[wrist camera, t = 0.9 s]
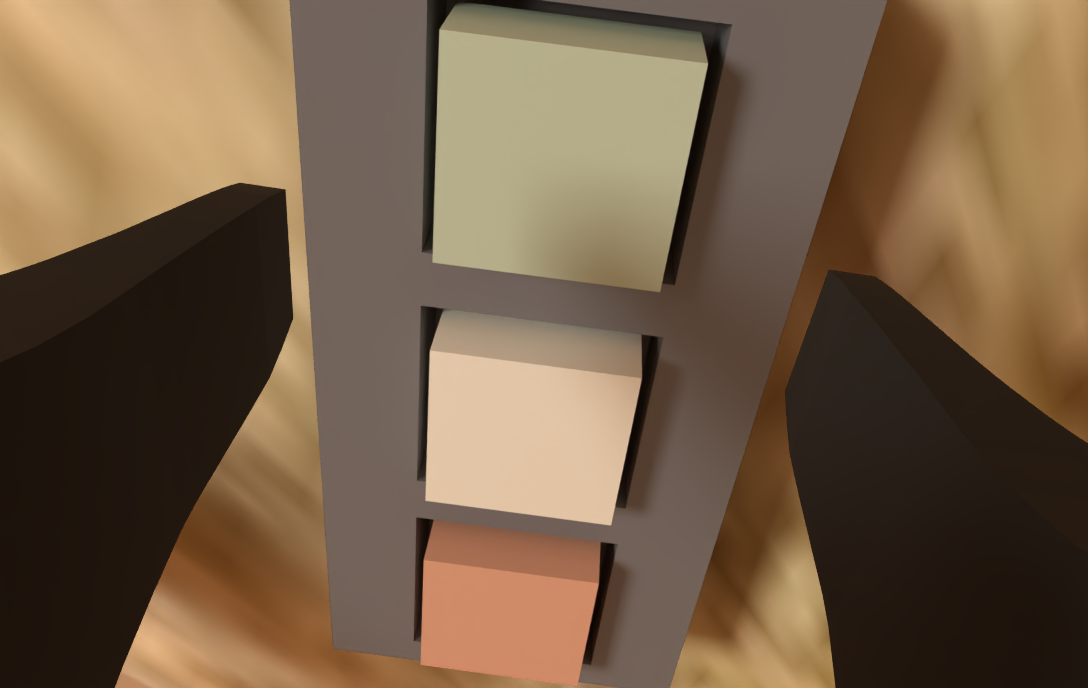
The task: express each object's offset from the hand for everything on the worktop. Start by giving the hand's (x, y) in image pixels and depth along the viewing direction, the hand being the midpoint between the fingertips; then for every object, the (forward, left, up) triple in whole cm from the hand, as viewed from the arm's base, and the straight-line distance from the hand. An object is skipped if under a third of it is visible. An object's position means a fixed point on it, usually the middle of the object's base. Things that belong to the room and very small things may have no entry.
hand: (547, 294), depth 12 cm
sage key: (0, 0, -6) cm, 6 cm away
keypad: (0, -7, -8) cm, 11 cm away
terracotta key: (0, -13, -6) cm, 15 cm away
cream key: (0, -7, -6) cm, 9 cm away
